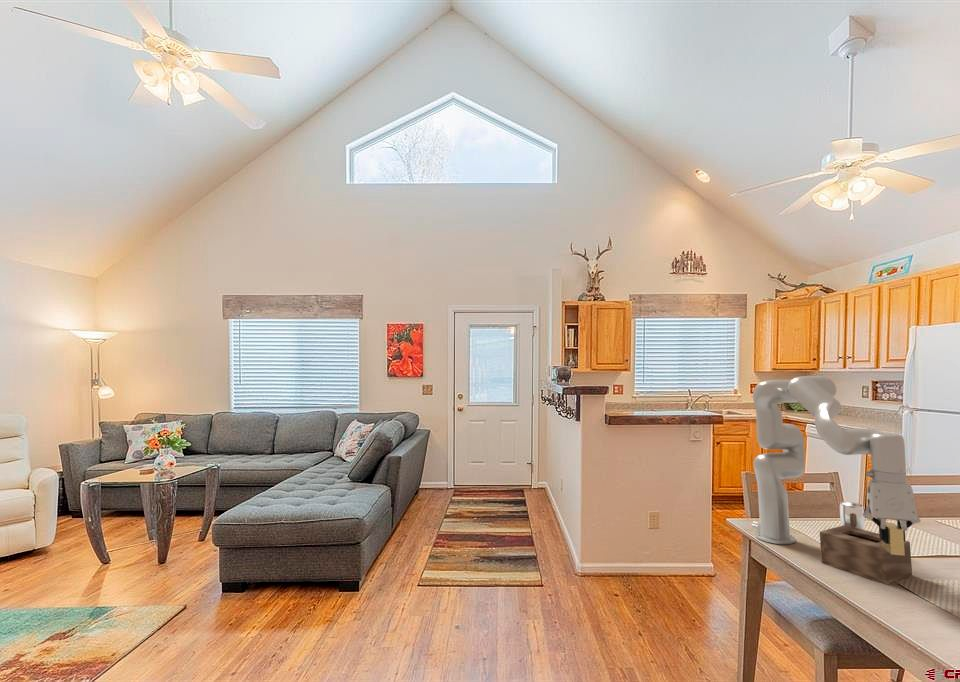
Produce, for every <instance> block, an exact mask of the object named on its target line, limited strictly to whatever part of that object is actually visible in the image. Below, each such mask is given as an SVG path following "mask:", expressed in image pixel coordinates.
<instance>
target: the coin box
mask: <svg viewBox="0 0 960 682" xmlns="http://www.w3.org/2000/svg"><path fill="white" fill-rule="evenodd" d="M819 543H820V557H821V559H820V561H821V564H824V565H828V566H830V567H833V568H836V569H840V570H842V571H845V572H849V573H851V574H853V575H858V576H860V577H863V578H866V579H869V580H872V581H875V582H878V583H881V584H884V585H890V584H892V583H895V582H897V581H900V580H903V579H905V578H908V577H911V576H913V569H912V568H913V567H912V566H913V565H912V552H911V543H910V541H909V540H905V541H904V552H905V556H903V555H893V554H890V553H889V552H888V551H887V550H885V549H884V548H883V547H882V540H881V539H880V537H879V532H878V533H876V532H873V531H869V530H865V529H864V530H862V529H858V528H854V527H850V526H847V525H843V526H842V525H840V526H837V527H832V528H828V529H825V530H821V531H819Z"/></svg>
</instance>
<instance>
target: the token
mask: <svg viewBox="0 0 960 682" xmlns="http://www.w3.org/2000/svg"><path fill="white" fill-rule="evenodd" d="M886 529H887V530H888V544H886V543H884V542H883V541H882V547H883V548H884V549H885V550H887V551H888V552H889V553H890V554H893V555H903V556H905V552H904V534H903V529H901V528H900V527H898V526H897V523H896V524H895V523H894V522H887V521H886Z"/></svg>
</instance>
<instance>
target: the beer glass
mask: <svg viewBox="0 0 960 682" xmlns="http://www.w3.org/2000/svg"><path fill="white" fill-rule="evenodd" d="M864 512H865V509H864V505H863V504H861V503H859V502H854V501H840V502H839V519H840V523H841V526H843V525H847V526H850V527H854V528H858V529H862V530H865V525H866V524H865V523H866V522H865V521H866V518H865V517H864V516H863V513H864Z"/></svg>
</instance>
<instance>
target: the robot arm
mask: <svg viewBox="0 0 960 682" xmlns="http://www.w3.org/2000/svg"><path fill="white" fill-rule="evenodd" d="M836 394H837V387H836V384H835V382H834V380H832V379H831V378H829V377H827V376H824V375H802V376H796V377H793V379H792V378H791V379H770V380H769V379H768V380H764V381H761V382H759V383H758V384H756V386H755V387H754V388H753V391H752V399H753V405H754V409H755V413H756V414H755V416H756V419H755V420H756V421H755V422H756V423H755V424H756V440H757V444H758V446H759V447H760V448H762V449H764V450H770V451H777V450H782V452H765V453H761V454H758V455H757V456H756V457H755V458H754V459H753V461H752V463H753V464H752V465H753V470H754V474H755V478H756V484H757V495H758V497H757V498H758V500H757V501H758V512H759V513H758V515H759V517H758V518H759V522H758V521H755V520H753V521H752V523H751V528H753V529H757V531H756V532H755V537H756V538H757V539H758V540H760V541H762V542H765V543H771V544H776V545H792V544H795V543H796V538H795V536H794V535H791V530H790V528H791V527H790V513H789V497H788V496H789V495H788V490H787V488H786V486H785V485H784V483H783V482H782V479H796V478H799V477H802V476H803V475H804V472H805V470H806V452H805V437H804V433H803V432H802V430H801V429H800V427H798V426H797V425H795V424H793V423H784V422H783V413H782V410H781V408H780V407H779V406H778V404H782V403H783V404H787V403H788V404H790V403H792V404H793V403H799V404H800V405H801V406H802V407H803V408H804V409H805V410H806V411H808V413H809V414H810V415H812V417H814V425H815V429H816V432H817V434H818V435H819V436H818V437H820V439H822V441H823V442H825V443H826V444H827V446H829V447H830V448H831V449H832V450H834V452H837V453H839V454H842V455H845V456H851V455H852V456H854V455H870V466H871V468H870V471H865V476H866V477H869V478H871V479H869V480H868V484H867V493H866V508H865V509H864V513H863V516H864V517H865V519H867V520H869V521H871V522H873V523H874V524H875V525H876V526H878V534H879V537H880V539H881V540H882V541H883V542H884V543H886V544H888V530H887V529H886V522H887V520H896V525H897V526H898V527H900V528H901V529H903V534H904V541H906V532H907V531H908V529H909V528H910V527H911V526H912V525H915V524H918V523H920V522H921V519H920V517H919V516H918V511H917V505H916V504H917V503H916V500H915V495H914V491H913V487H912V484H911V483H909V482H908V480H907V468H906V467H907V466H906V465H907V464H906V463H907V462H906V448H905V447H906V445H905V438H904V437H903V436H902V435H901V434H898V433H894V432H884V431H880V430H877V429H875V428H846V429H845V428H842V426H840V425H839V424H838V423H837V422H836V421H835V420H834V418H836V416H837V415H839V413H840V411H841V408H842V406H841V403H840V401H839V400H838V399H837V398H835V396H836Z"/></svg>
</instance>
